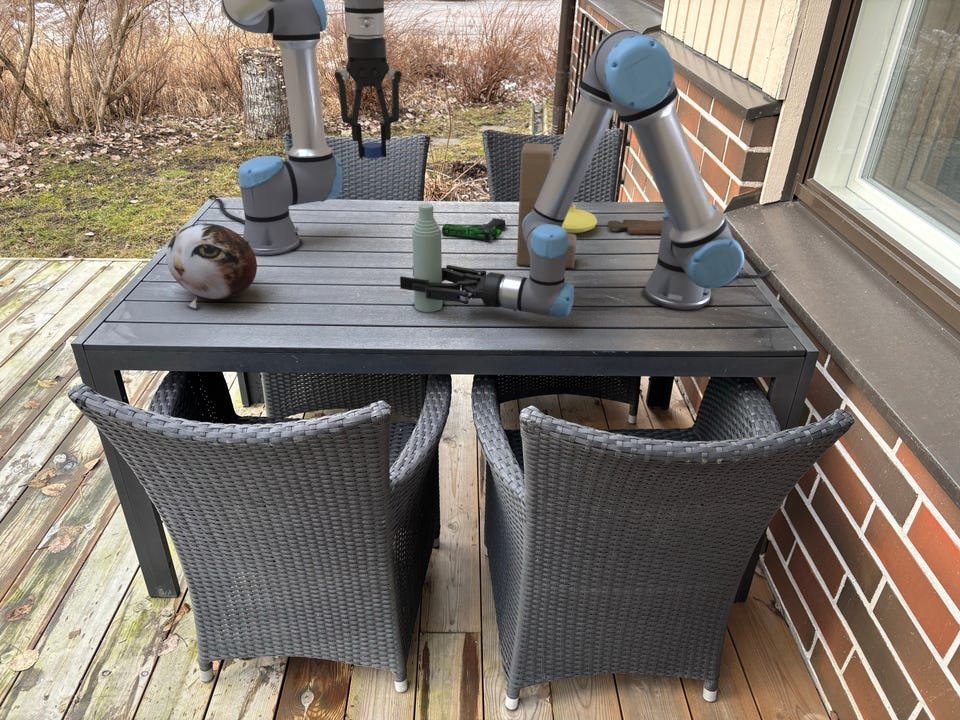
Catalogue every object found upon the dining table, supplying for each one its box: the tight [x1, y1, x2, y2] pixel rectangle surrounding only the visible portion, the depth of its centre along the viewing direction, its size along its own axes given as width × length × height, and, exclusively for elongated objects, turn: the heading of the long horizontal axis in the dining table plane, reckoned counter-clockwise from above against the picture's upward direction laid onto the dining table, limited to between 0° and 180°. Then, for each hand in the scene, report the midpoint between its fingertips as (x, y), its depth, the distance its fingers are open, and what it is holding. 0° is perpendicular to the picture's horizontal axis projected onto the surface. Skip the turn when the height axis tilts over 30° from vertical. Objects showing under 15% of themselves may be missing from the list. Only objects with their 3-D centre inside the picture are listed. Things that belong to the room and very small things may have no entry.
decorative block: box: [516, 142, 577, 269], centre depth 181 cm, size 8×15×30 cm, turn 82°
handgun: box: [441, 217, 506, 242], centre depth 207 cm, size 16×3×15 cm
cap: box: [362, 141, 383, 159], centre depth 151 cm, size 4×4×2 cm
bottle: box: [411, 203, 443, 313], centre depth 160 cm, size 6×6×24 cm
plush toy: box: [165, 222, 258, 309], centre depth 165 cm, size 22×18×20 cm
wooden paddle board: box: [607, 219, 663, 235], centre depth 211 cm, size 26×2×10 cm
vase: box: [561, 203, 598, 234], centre depth 209 cm, size 16×16×7 cm
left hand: (372, 155), depth 151 cm, fingers closed on cap, 4 cm apart
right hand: (407, 276), depth 164 cm, fingers closed on bottle, 6 cm apart
